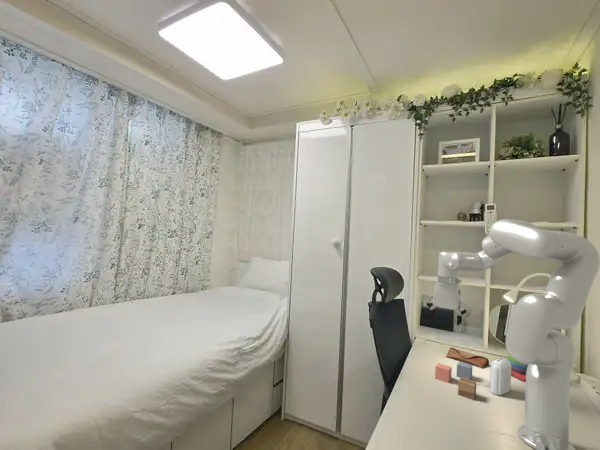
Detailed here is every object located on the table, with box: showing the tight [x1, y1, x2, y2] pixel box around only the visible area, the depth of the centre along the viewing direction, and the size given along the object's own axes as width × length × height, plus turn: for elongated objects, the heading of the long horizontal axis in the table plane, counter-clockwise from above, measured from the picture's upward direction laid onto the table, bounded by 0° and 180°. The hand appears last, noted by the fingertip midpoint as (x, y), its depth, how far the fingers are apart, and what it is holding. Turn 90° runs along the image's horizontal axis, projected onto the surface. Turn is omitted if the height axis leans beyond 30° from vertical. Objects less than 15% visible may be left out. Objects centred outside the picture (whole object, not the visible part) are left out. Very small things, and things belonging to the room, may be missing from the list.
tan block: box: [457, 377, 477, 401], centre depth 108 cm, size 5×5×5 cm
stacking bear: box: [507, 353, 528, 383], centre depth 130 cm, size 11×10×18 cm
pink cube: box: [434, 363, 453, 383], centre depth 120 cm, size 5×5×5 cm
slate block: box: [456, 361, 473, 380], centre depth 124 cm, size 5×5×5 cm
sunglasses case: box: [445, 347, 490, 370], centre depth 144 cm, size 18×7×7 cm
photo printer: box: [489, 357, 512, 396], centre depth 113 cm, size 10×4×12 cm, turn 123°
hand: (445, 322), depth 122 cm, fingers open, 9 cm apart
